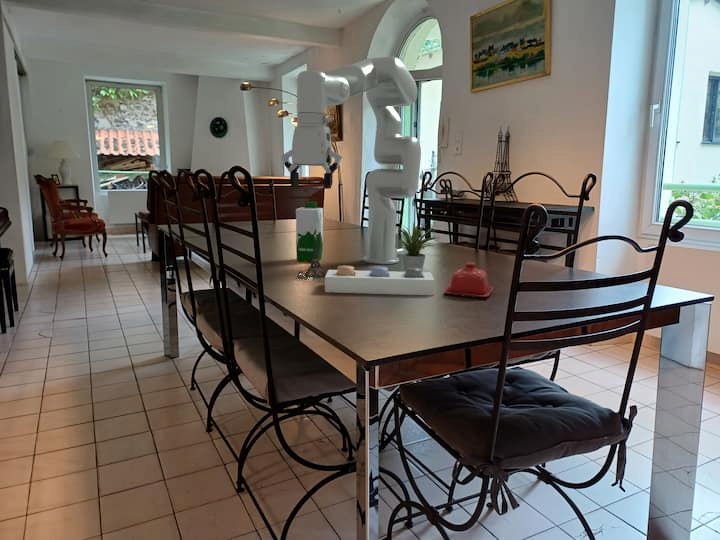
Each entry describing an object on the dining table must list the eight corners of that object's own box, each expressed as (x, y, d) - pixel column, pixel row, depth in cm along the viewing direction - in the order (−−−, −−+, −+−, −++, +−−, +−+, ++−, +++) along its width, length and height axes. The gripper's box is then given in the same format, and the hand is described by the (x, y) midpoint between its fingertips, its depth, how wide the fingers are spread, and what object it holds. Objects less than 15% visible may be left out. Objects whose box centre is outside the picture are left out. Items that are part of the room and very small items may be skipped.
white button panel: (429, 286, 143) (430, 272, 142) (433, 295, 133) (434, 280, 132) (328, 283, 144) (328, 269, 143) (324, 292, 134) (324, 277, 133)
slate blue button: (387, 278, 140) (387, 266, 139) (387, 281, 136) (388, 269, 135) (371, 277, 140) (371, 266, 140) (371, 281, 136) (371, 269, 135)
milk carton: (324, 259, 183) (325, 202, 179) (318, 263, 174) (318, 203, 171) (300, 257, 185) (300, 201, 181) (293, 262, 176) (293, 202, 172)
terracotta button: (354, 277, 140) (354, 265, 140) (353, 280, 136) (353, 268, 135) (337, 276, 140) (338, 265, 140) (336, 280, 136) (336, 268, 136)
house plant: (412, 282, 148) (414, 225, 145) (378, 274, 158) (380, 220, 155) (444, 276, 157) (447, 222, 154) (411, 269, 167) (413, 218, 164)
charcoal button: (420, 279, 140) (421, 267, 139) (422, 282, 136) (422, 270, 135) (404, 278, 140) (405, 267, 139) (405, 282, 136) (405, 270, 135)
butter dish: (442, 296, 133) (443, 263, 132) (451, 287, 144) (453, 257, 142) (487, 301, 129) (490, 267, 127) (493, 291, 140) (496, 260, 138)
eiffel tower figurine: (298, 272, 161) (298, 229, 158) (331, 273, 161) (332, 230, 159) (294, 283, 146) (294, 236, 144) (330, 283, 147) (330, 236, 144)
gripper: (347, 122, 136) (346, 188, 139) (289, 123, 142) (288, 186, 145) (336, 119, 129) (335, 189, 132) (275, 120, 135) (275, 187, 138)
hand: (311, 187), depth 139 cm, fingers open, 9 cm apart
